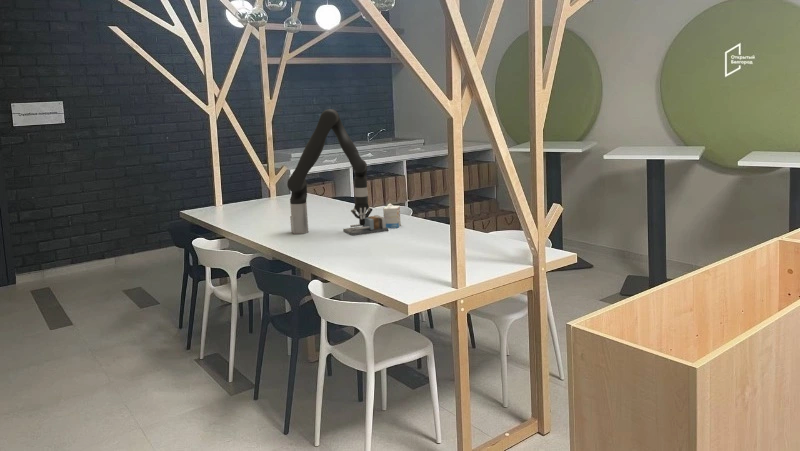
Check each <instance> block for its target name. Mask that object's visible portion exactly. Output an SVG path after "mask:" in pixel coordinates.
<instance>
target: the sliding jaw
mask: <svg viewBox="0 0 800 451" xmlns="http://www.w3.org/2000/svg"><path fill="white" fill-rule="evenodd" d="M354 227H359V228H356V230H360V229H370V230H372V229H374V221H373V219H370V218H365V224H364V227H362V226H361V225H360V224H359V223H358V224H357V223H356V224H351V225H350V227H349V228H354Z"/></svg>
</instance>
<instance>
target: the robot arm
mask: <svg viewBox="0 0 800 451" xmlns="http://www.w3.org/2000/svg"><path fill="white" fill-rule="evenodd" d="M343 124H344V123H343V122H342V120H341V118H340V115H339V113H338V111H337V110H335V109H333V108H329V109H325V110H323V111H322V113H321V114H320V116H319V118H318V122H317V124H316V126H315V129H314V131H313V133H312V134H311V136H310V138H309V140H308V141H307V143H306V145H305V147H304V149H303V152H302V153H301V156H300V158H299V160H298V163H297V165H296V167H295V169H294V170H293V172H292V173H291V175H290V176H289V178H288V179H287V189H288V190H289V191H290V192H291V195H290V199H289V205H290V217H289V218H290V232H291V233H292V234H293V235H301V234H306V233H309V220H308V206H307V205H308V204H307V202H308V201H307V199H308V198H307V197H308V185H307V179H306V178H307V176H308V173H309V172H310V171H311V169H312V168H313V167H314V165H315V164H316V163H317V162H318V160H319V159H320V157H321V154H322V153H323V149H324V147H325V145H326V144H325V143H326V139H327V137H328V134H330V131H331V130H332V131H333V133H334V134H335V137H336V139H337V140H338V143H339V146H340V148H341V149H342V151H343V153H344V154H345V156H346V158H347V159H348V161H349V163H350V166H351V167H352V169H353V171H354V176H355V177H354V191H353V192H354V207H353V209H350V212H351V213H352V215H353V216H354V217H355V219H358V220H359V223H358V224H360V225H361V226H360V227H362V226H364V224H365V218H368V217H370V216H371V213H372V211H373V208H371V207H370V205H369V192H368V178H367V175H368V165H367V161H365V160H364V159H362V157H361V156H360V154H359V150H358V148H357V147H356V145H355V144H354V142H353V141H352V139H351V137H350V136H349V133H348V132H347V131H346V130H347V129H346V128H345V126H344V125H343ZM356 212H357V213H356Z"/></svg>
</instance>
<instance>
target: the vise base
mask: <svg viewBox="0 0 800 451" xmlns="http://www.w3.org/2000/svg"><path fill="white" fill-rule="evenodd" d="M373 216H375V217H377V218H378V223H379V228H377V229H372V230H370V229H360V230H356V228H359V227H360V226H357V227H347V228H343V232H344V233H346V234H347V235H350V236H354V237H355V236H360V235H367V234H368V235H369V234H375V233H383V232H389V228H386V218H384V216H381V215H378V214H376V215H373ZM361 227H364V226H361Z"/></svg>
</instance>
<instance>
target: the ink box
mask: <svg viewBox="0 0 800 451" xmlns="http://www.w3.org/2000/svg"><path fill="white" fill-rule="evenodd" d="M382 210H383V213H382V214H383V217H384V218H386V228H388V229H398V228H400V226H401V225H402V222H401V207H400V205H393V204H392V203H388V204H387V205H386V206H385V207H383V209H382Z"/></svg>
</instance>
